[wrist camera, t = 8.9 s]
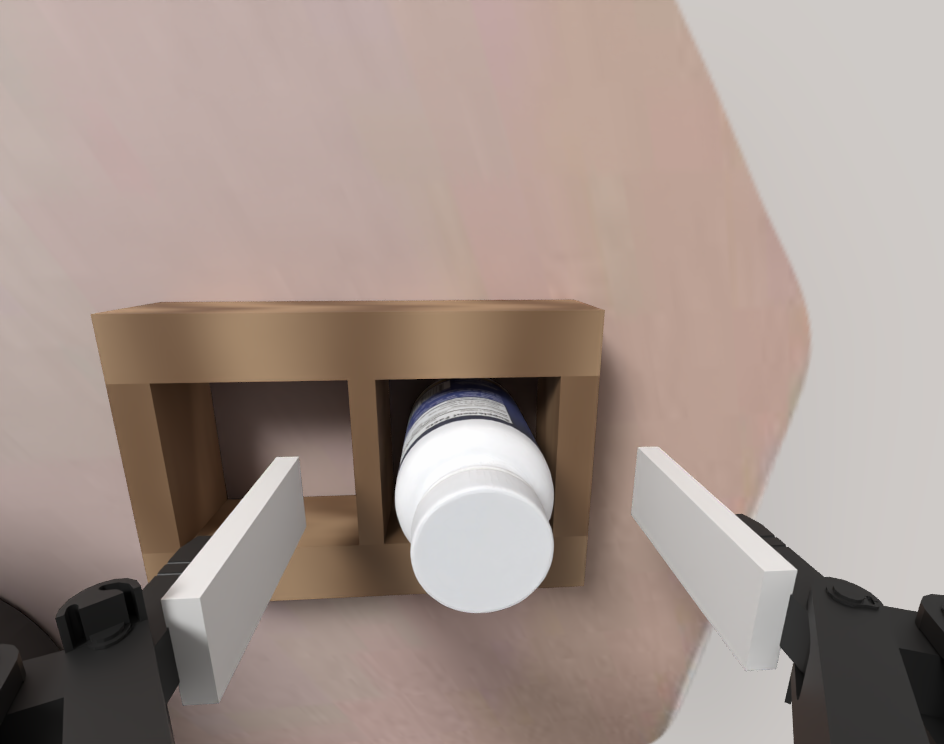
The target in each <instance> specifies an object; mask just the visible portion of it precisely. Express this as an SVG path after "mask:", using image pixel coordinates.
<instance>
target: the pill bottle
mask: <svg viewBox="0 0 944 744" xmlns="http://www.w3.org/2000/svg"><path fill="white" fill-rule="evenodd" d="M553 502H554V488H553V482H552V477H551V473H550V470H549V468H548V465H547V463H546V460H545V458H544V456H543V454H542V452H541V450H540V448H539V446H538V445H537V443H536V441H535V439H534V437H533V435H532V433H531V431H530V429H529V427H528V425H527V423H526V421H525V419H524V417H523V416H522V414H521V412H520V410H519V408H518V406H517V404H516V403H515V401H514V400H513V398H512V397H511V395H510V394H509V393H508V392H507V391H506V390H505V389H504V388H503V387H502V386H501V385H500V384H498V383H497V382H495V381H493V380H491V379H489V378H443V379H440V380H438V381H436V382H434V383H433V384H431V385H430V386H428V387H427V388H426V389H425V390H424V391H423V392H422V393H421V394H420V396H419V397H418V398H417V400H416V401H415V403H414V405H413V407H412V410H411V412H410V416H409V419H408V425H407V430H406V435H405V440H404V445H403V450H402V455H401V460H400V465H399V470H398V476H397V482H396V488H395V508H396V513H397V517H398V520H399V523H400V526H401V528H402V531H403V533H404V534H405V536H406V538H407V539H408V541H409V542H410V543H411V550H410V554H411V563H412V567H413V570H414V573H415V576H416V578H417V580H418V582H419V583H420V585H421V586H422V587H423V589H424V590H425V591H426V592H427V593H428V594H429V595H430V596H431V597H432V598H434V599H435V600H436V601H438V602H439V603H441V604H443V605H444V606H446V607H449V608H451V609H454V610H457V611H462V612H468V613H490V612H495V611H499V610H503V609H506V608H509V607H511V606H513V605H515V604H517V603H519V602H521V601H522V600H524V599H525V598H527V597H528V596H529V595H530V594H531V593H532V592H534V591H535V590H536V589H537V588H538V586H539V585H540V584H541V583H542V581H543V580H544V578H545V577H546V575H547V573H548V571H549V568H550V566H551V563H552V559H553V552H554V539H553V533H552V529H551V526H550V524H549V520H550V517H551V514H552V509H553Z"/></svg>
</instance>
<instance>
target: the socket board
mask: <svg viewBox="0 0 944 744" xmlns="http://www.w3.org/2000/svg"><path fill="white" fill-rule="evenodd" d="M604 313H605V310H602V309H599V308H596V307H593V306H591V305H588V304H585V303H582V302H579V301H576V300H443V301H274V302H159V303H153V304H147V305H141V306H136V307H130V308H124V309H118V310H112V311H106V312H101V313H95V314H91V318H92V323H93V328H94V332H95V337H96V342H97V346H98V351H99V356H100V360H101V365H102V370H103V374H104V379H105V384H106V388H107V393H108V398H109V402H110V407H111V412H112V416H113V421H114V426H115V430H116V435H117V440H118V444H119V449H120V454H121V458H122V463H123V468H124V472H125V477H126V482H127V486H128V491H129V496H130V500H131V505H132V510H133V514H134V519H135V524H136V528H137V533H138V538H139V542H140V547H141V552H142V556H143V561H144V566H145V570H146V575H147V580H148V583H149V582H150V581H151V580H152V579H153V578H154V576H157V574H158V572H159V571H160V570H161V569H162V567H163V566H164V565H165V564H167V563H168V561H169V560H170V558H171V557H172V556H173V555H174V554H175V553H176V552H177V551H178V549H179V548H181V547H182V546H184V545H185V544H187V543H188V542H190V541H191V540H193V539H194V538H196V537H197V536H211V535H214V533H215V532H216V531H217V530H218V528H219V527H220V526H221V525H222V524H223V522H224V521H225V520H226V519H227V517H228V516H229V515H230V514H231V512H232V511H233V510H234V509H235V508H236V506H237V505H238V504H239V503H240V501H241V500H242V499H227V494H226V487H225V481H224V474H223V467H222V461H221V454H220V448H219V441H218V435H217V428H216V422H215V415H214V409H213V402H212V396H211V389H210V383H209V382H268V381H326V380H348V393H349V407H350V421H351V435H352V449H353V463H354V476H355V490H356V495H346V496H316V497H303V500H304V509H305V518H306V528H305V530H304V532H303V534H302V536H301V538H300V540H299V542H298V545H297V547H296V549H295V551H294V553H293V555H292V557H291V559H290V561H289V563H288V565H287V567H286V569H285V571H284V573H283V575H282V577H281V579H280V581H279V583H278V585H277V587H276V589H275V591H274V593H273V595H272V597H271V599H270V601H281V600H302V599H323V598H344V597H365V596H386V595H407V594H428V593H427V592H426V591H425V590H424V589H423V587H422V586H421V585H420V583H419V582H418V580H417V578H416V576H415V573H414V570H413V567H412V563H411V554H410V550H411V543H410V542H409V541H408V539H407V538H406V536H405V534H404V533H403V531H402V528H401V526H400V523H399V520H398V517H397V513H396V508H395V494H394V482H393V462H392V441H391V420H390V399H389V379H443V378H502V377H538V393H537V418H536V443H537V445H538V446H539V448H540V450H541V452H542V454H543V456H544V458H545V460H546V463H547V465H548V468H549V470H550V473H551V477H552V482H553V488H554V502H553V509H552V514H551V517H550V520H549V524H550V526H551V529H552V533H553V539H554V552H553V559H552V563H551V566H550V568H549V571H548V573H547V575H546V577H545V578H544V580H543V581H542V583H541V584H540V585H539V586H538V588H554V587H575V586H584V578H585V565H586V552H587V538H588V525H589V512H590V499H591V485H592V472H593V459H594V445H595V432H596V419H597V406H598V392H599V379H600V366H601V353H602V339H603V326H604Z"/></svg>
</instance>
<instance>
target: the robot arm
mask: <svg viewBox="0 0 944 744" xmlns="http://www.w3.org/2000/svg"><path fill="white" fill-rule="evenodd" d="M631 515H632V516H633V518H634V519H635V521H636V522H637V523H638V525H639V526H640V527H641V529H642V530H643V532H644V533H645V534H646V536H647V537H648V538H649V540H650V541H651V543H652V544H653V545H654V547H655V548H656V549H657V551H658V552H659V553H660V555H661V556H662V558H663V559H664V560H665V562H666V563H667V564H668V566H669V567H670V569H671V570H672V571H673V573H674V574H675V575H676V577H677V578H678V580H679V581H680V582H681V584H682V585H683V586H684V588H685V589H686V590H687V592H688V593H689V595H690V596H691V597H692V599H693V600H694V601H695V603H696V604H697V606H698V607H699V608H700V610H701V611H702V612H703V614H704V615H705V617H706V618H707V619H708V621H709V622H710V623H711V625H712V626H713V627H714V629H715V630H716V632H717V633H718V634H719V636H720V637H721V638H722V640H723V641H724V643H725V644H726V645H727V647H728V648H729V649H730V651H731V652H732V653H733V655H734V656H735V658H736V659H737V660H738V662H739V663H740V664H741V666H742V667H743V668H744V670H745V671H753V670H770V669H776V667H777V663H778V658H779V653H780V649H781V648H782V649H783V651H784V652H785V653H786V654H787V655H788V656H789V658H790V659H791V660H792V661H793V662H794V663H793V667H792V672H791V676H790V681H789V686H788V689H787V694H786V699H785V702H786V703H788V704H791V702H792V715H793V734H794V744H944V595H935V594H930V595H926V596H923V598H922V600H921V603H920V606H919V610H918V612H916V611H910V610H904V609H898V608H893V607H887V606H883V604H882V603H881V601H880V600H879V599H877V598H876V597H875V596H874V595H872V594H871V593H870V592H868V591H867V590H865V589H863V588H861V587H859V586H857V585H855V584H853V583H850V582H848V581H845V580H842V579H837V578H832V577H823V576H822V575H821V574H820V573H819V572H817V571H816V570H815V569H814V568H813V567H812V566H810V565H809V564H808V563H807V562H806V561H804V560H803V559H802V558H801V557H800V556H798V555H797V554H796V553H795V552H794V551H793V550H791V549H790V548H789V547H786V545H785V544H784V543H783V542H782V541H781V540H779V539H778V538H777V537H776V538H775V536H774V535H773V534H772V533H771V532H770V531H769V530H768V529H766V528H765V527H764V526H763V525H762V524H760V523H759V522H757V521H755V520H753V519H751V518H749V517H747V516H745V515H743V514H734V513H733V512H731V511H730V510H729V509H728V508H727V507H726V506H725V505H724V504H722V503H721V502H720V501H719V500H718V499H717V498H716V497H715V496H713V495H712V494H711V493H710V492H709V491H708V490H707V489H706V488H704V487H703V486H702V485H701V484H700V483H699V482H698V481H696V480H695V479H694V478H693V477H692V476H691V475H690V474H689V473H687V472H686V471H685V470H684V469H683V468H682V467H681V466H680V465H678V464H677V463H676V462H675V461H674V460H673V459H672V458H671V457H669V456H668V455H667V454H666V453H665V452H664V451H663V450H662V449H660V448H659V447H638V451H637V461H636V470H635V480H634V490H633V500H632V510H631ZM305 528H306V518H305V509H304V500H303V490H302V481H301V471H300V462H299V457H276V458H275V459H274V461H273V462H272V463H271V464H270V466H269V467H268V468H267V469H266V471H265V472H264V473H263V474H262V475H261V477H260V478H259V479H258V480H257V482H256V483H255V484H254V485H253V487H252V488H251V489H250V490H249V491H248V493H247V494H246V495H245V496H244V498H243V499H242V500H241V501H240V503H239V504H238V505H237V506H236V508H235V509H234V510H233V511H232V512H231V514H230V515H229V516H228V517H227V519H226V520H225V521H224V522H223V524H222V525H221V526H220V527H219V528H218V530H217V531H216V532H215V533H214V535H211V536H197V537H196V538H194V539H193V540H191V541H190V542H188V543H187V544H185V545H184V546H182V547H181V548H179V549H178V551H177V552H176V553H175V554H174V555H173V556H172V557H171V558H170V560H169V561H168V563H167V564H165V565H164V566H163V567H162V569H161V570H160V571H159V572H158V574H157V576H154V578H153V579H152V580H151V581H150V582H149V583H148V584H147V585H146V587H145V588H144V589H143V590H142V589H141V586H140V584H139V583H138V582H137V580H133V579H129V578H123V579H113V580H109V581H106V582H102V583H99V584H96V585H94V586H92V587H90V588H87V589H85V590H83V591H81V592H80V593H78V594H77V595H75V596H74V597H72V598H71V599H69V600H68V601H67V602H66V603H65V604H64V605H63V606H62V607H61V608H60V609H59V611H58V613H57V616H56V618H55V619H56V622H57V626H58V629H59V633H60V636H61V640H62V643H63V647H64V650H62V651H60V650H59V649H58V647H57V646H56V645H55V644H54V642H53V641H52V640H51V639H50V638H49V637H48V636H47V635H46V634H45V633H44V632H43V631H42V630H41V629H40V628H39V627H38V626H37V625H36V624H35V623H33V622H32V621H31V620H30V619H29V618H27V617H26V616H25V615H23V614H22V613H21V612H19V611H18V610H16V609H15V608H13V607H12V606H10V605H8V604H7V603H5V602H3V601H2V600H0V744H175V742H174V737H173V732H172V727H171V721H170V716H169V712H168V707H167V703H168V701H169V699H170V698H171V696H172V694H173V693H174V691H175V689H176V688H177V686H178V685H179V690H180V695H181V700H182V705H183V706H184V705H201V704H217V703H219V702H220V700H221V698H222V696H223V694H224V692H225V690H226V688H227V686H228V684H229V682H230V680H231V678H232V676H233V674H234V672H235V670H236V668H237V666H238V664H239V662H240V660H241V658H242V656H243V654H244V652H245V650H246V648H247V646H248V644H249V642H250V640H251V638H252V636H253V633H254V631H255V629H256V627H257V625H258V623H259V621H260V619H261V617H262V615H263V613H264V611H265V609H266V607H267V605H268V603H269V601H270V599H271V597H272V595H273V593H274V591H275V589H276V587H277V585H278V583H279V581H280V579H281V577H282V575H283V573H284V571H285V569H286V567H287V565H288V563H289V561H290V559H291V557H292V555H293V553H294V551H295V549H296V547H297V545H298V542H299V540H300V538H301V536H302V534H303V532H304V530H305Z"/></svg>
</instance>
